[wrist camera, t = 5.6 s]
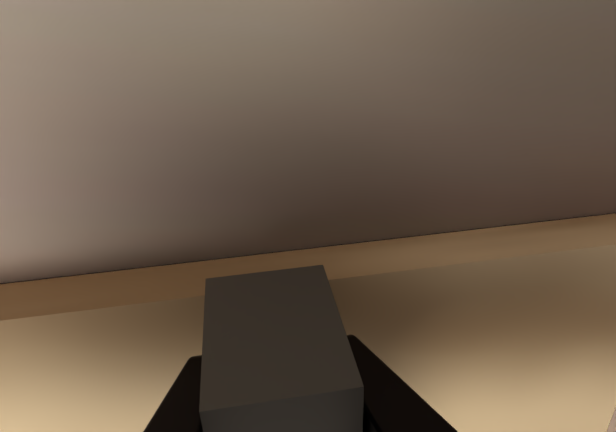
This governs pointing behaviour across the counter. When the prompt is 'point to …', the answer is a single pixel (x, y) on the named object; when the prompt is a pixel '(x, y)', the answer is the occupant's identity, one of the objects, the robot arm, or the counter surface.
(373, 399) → the robot arm
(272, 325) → the grey and white bar
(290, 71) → the counter surface
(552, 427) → the mounting board
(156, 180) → the counter surface
